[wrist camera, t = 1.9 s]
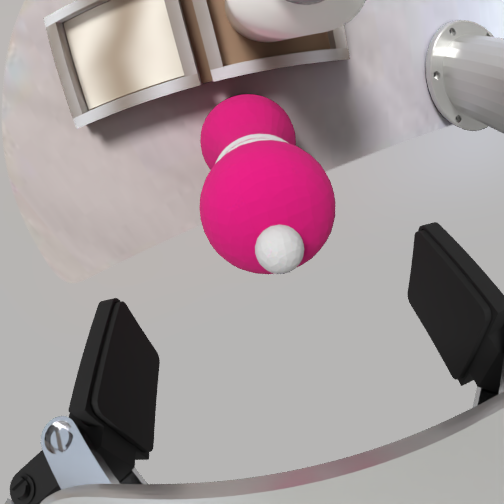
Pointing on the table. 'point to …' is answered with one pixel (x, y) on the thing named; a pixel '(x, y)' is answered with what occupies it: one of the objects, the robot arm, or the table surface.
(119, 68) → the rail
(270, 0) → the salt shaker
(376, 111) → the table surface
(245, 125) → the pepper mill
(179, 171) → the table surface
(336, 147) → the table surface
